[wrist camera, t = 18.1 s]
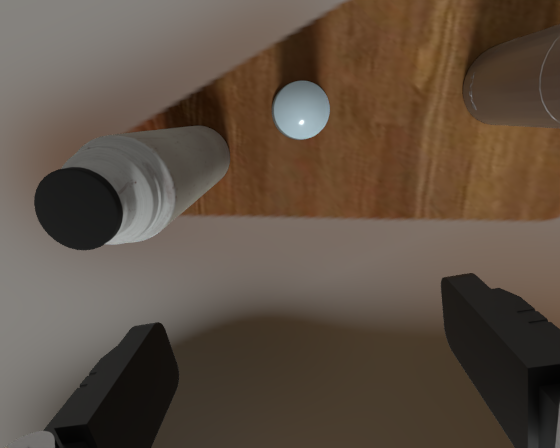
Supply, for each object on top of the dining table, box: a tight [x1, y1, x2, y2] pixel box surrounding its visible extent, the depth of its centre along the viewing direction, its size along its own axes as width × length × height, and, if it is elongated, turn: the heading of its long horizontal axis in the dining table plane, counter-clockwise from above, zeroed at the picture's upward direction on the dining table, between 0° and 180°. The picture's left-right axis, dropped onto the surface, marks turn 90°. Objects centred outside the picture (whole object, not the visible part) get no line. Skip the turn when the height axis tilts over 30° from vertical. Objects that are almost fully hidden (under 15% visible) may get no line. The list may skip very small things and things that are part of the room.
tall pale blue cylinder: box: [274, 81, 330, 139], centre depth 38 cm, size 5×5×13 cm
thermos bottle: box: [34, 126, 230, 250], centre depth 33 cm, size 8×8×28 cm
